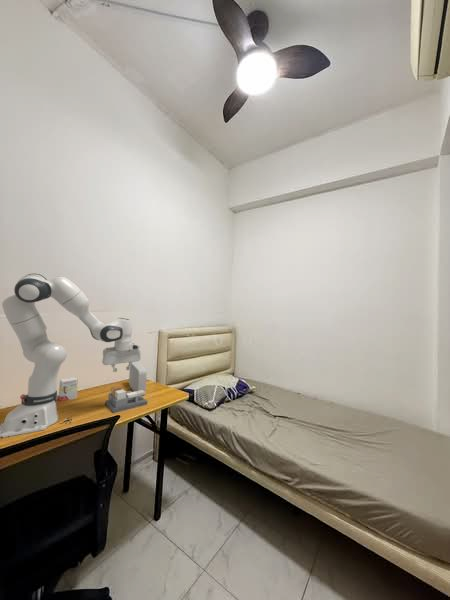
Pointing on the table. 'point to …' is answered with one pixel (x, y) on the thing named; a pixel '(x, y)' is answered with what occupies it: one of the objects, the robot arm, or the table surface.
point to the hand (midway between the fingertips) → (121, 370)
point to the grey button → (120, 394)
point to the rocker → (135, 394)
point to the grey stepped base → (124, 403)
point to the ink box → (68, 389)
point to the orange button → (115, 390)
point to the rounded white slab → (137, 377)
